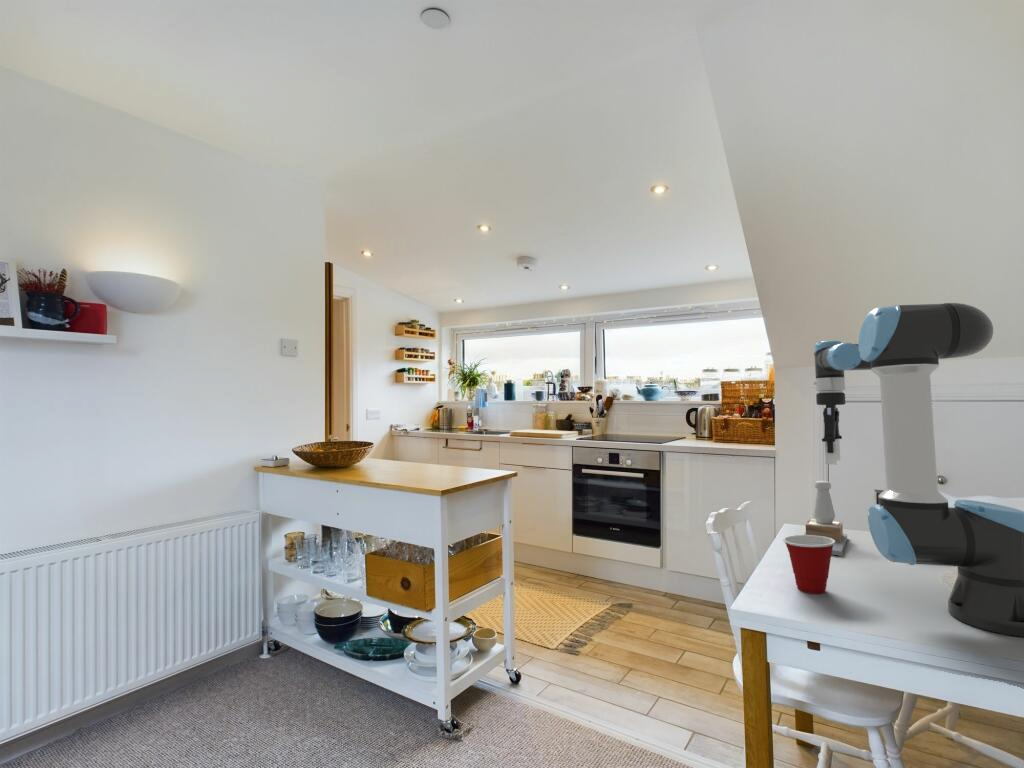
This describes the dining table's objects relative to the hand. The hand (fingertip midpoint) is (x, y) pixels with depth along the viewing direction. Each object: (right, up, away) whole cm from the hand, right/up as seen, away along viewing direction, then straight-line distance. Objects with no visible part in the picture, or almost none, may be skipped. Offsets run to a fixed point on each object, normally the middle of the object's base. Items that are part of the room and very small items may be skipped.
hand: (833, 462), depth 157 cm
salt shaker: (0, -20, +4) cm, 20 cm away
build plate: (-2, -25, +1) cm, 25 cm away
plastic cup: (-27, -25, -35) cm, 51 cm away
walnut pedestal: (0, -24, +4) cm, 24 cm away
